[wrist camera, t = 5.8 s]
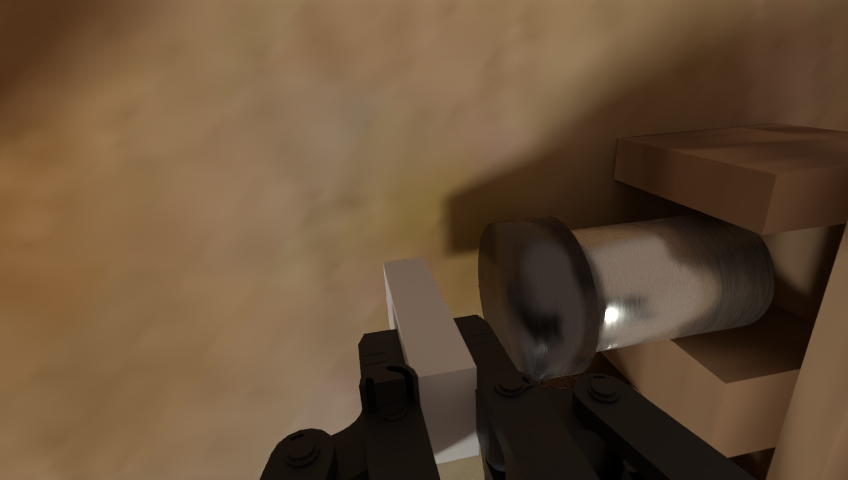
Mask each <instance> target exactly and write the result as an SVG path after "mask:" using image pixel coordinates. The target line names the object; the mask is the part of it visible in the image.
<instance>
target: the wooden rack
mask: <svg viewBox="0 0 848 480" xmlns="http://www.w3.org/2000/svg"><path fill="white" fill-rule="evenodd" d="M614 179H615V180H618V181H621V182H623V183H626V184H629V185H631V186H634V187H637V188H639V189H642V190H644V191H647V192H650V193H652V194H655V195H658V196H660V197H663V198H666V199H668V200H671V201H674V202H676V203H679V204H682V205H684V206H687V207H689V208H692V209H695V210H697V211H700V212H703V213H705V214H708V215H711V216H713V217H716V218H719V219H721V220H724V221H726V222H729V223H732V224H734V225H737V226H740V227H742V228H745V229H748V230H750V231H753V232H756V233H758V234H759V235H760V236H761V238H762V239H763V241H764V242H765V244H766V246H767V248H768V250H769V252H770V254H771V257H772V260H773V264H774V269H775V279H776V281H775V291H774V296H773V299H772V302H771V304H770V306H769V308H768V310H767V311H766V312H765V314H764V315H763V316H762V317H761V318H760V319H758V320H757V321H755V322H754V323H751V324H749V325H746V326H741V327H736V328H730V329H724V330H718V331H713V332H707V333H701V334H696V335H690V336H684V337H678V338H673V339H667V340H661V341H656V342H650V343H644V344H638V345H633V346H627V347H621V348H616V349H610V350H604V351H600V352H601V353H602V354H603V355H604V356H605V357H606V358H607V359H608V360H609V361H610V362H611V363H612V364H613V365H614V366H615V367H616V368H617V370H618V371H619V372H620V373H621V374H622V375H623V376H624V377H625V378H626V379H627V380H628V381H629V382H630V383H631V384H632V385H633V386H634V387H635V388H636V389H637V390H638V391H639V393H640V394H641V395H642V396H644V397H645V398H646V399H648V400H649V401H651V402H652V403H653V404H655V405H656V406H657V407H659V408H660V409H661V410H663V411H664V412H666V413H667V414H668V415H670V416H671V417H672V418H674V419H675V420H676V421H678V422H679V423H681V424H682V425H683V426H685V427H686V428H687V429H689V430H690V431H691V432H693V433H694V434H696V435H697V436H698V437H700V438H701V439H702V440H704V441H705V442H707V443H708V444H709V445H711V446H712V447H713V448H715V449H716V450H717V451H719V452H720V453H722V454H723V455H724V456H726V457H727V458H728V459H730V460H731V461H732V462H734V463H735V464H737V465H738V466H739V467H741V468H742V469H743V470H745V471H746V472H747V473H749V474H750V475H752V476H753V477H754V478H756V479H757V480H848V132H845V131H836V130H827V129H818V128H810V127H801V126H792V125H783V124H766V125H755V126H745V127H734V128H723V129H712V130H701V131H691V132H680V133H669V134H658V135H647V136H637V137H626V138H618V144H617V153H616V163H615V172H614Z"/></svg>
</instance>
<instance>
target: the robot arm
mask: <svg viewBox="0 0 848 480" xmlns="http://www.w3.org/2000/svg"><path fill="white" fill-rule="evenodd" d="M383 269H384V278H385V287H386V296H387V305H388V314H389V324H390V330H385V331H379V332H373V333H367V334H364V335H363V337H362V339H361V341H360V343H359V344H358V348H359V359H360V370H361V379H360V384H359V389H360V396H361V403H362V412H361V414H360V416H359V417H358V418H357V420H356V421H355V422H354V423H352V424H351V425H350V426H349V427H347V428H346V429H344V430H342V431H340V432H338V433H336V434H334V435H332V436H330V435H329V434H328V433H326V432H325V431H323V430H319V429H312V428H311V429H304V430H299V431H297V432H295V433H292V434H290V435H288V436H287V437H286V438H284V439H283V440H282V441H281V442H279V443H278V444H277V446H276V447H275V449H274V450H273V452H272V453H271V455H270V458H269V460H268V462H267V464H266V466H265V469H264V471H263V473H262V475H261V478H260V480H440V477H439V473H438V469H437V465H436V464H439V463H444V462H449V461H453V460H458V459H463V458H467V457H472V456H477V455H479V447H478V440H479V443H480V445H481V448H482V450H483V453H484V476H485V480H757V479H756V478H754V477H753V476H752V475H750V474H749V473H747V472H746V471H745V470H743V469H742V468H741V467H739V466H738V465H737V464H735V463H734V462H732V461H731V460H730V459H728V458H727V457H726V456H724V455H723V454H722V453H720V452H719V451H717V450H716V449H715V448H713V447H712V446H711V445H709V444H708V443H707V442H705V441H704V440H702V439H701V438H700V437H698V436H697V435H696V434H694V433H693V432H691V431H690V430H689V429H687V428H686V427H685V426H683V425H682V424H681V423H679V422H678V421H676V420H675V419H674V418H672V417H671V416H670V415H668V414H667V413H666V412H664V411H663V410H661V409H660V408H659V407H657V406H656V405H655V404H653V403H652V402H651V401H649V400H648V399H646V398H645V397H644V396H642V395H641V394H640V393H638V392H637V391H635V390H634V389H633V388H631V387H630V386H629V385H627V384H626V383H625V382H623V381H621V380H619V379H617V378H616V377H613V376H610V375H606V374H600V373H590V374H586V375H582V376H581V377H579V378H578V379H576V380H575V383H574V385H573V390H568V389H552V388H545V387H541V386H539V385H538V384H537V382H536V381H535V380H534V379H533V378H532V377H531V376H529V375H527V374H525V373H523V372H521V371H518V370H517V368H516V367H515V365H514V363H513V362H512V360H511V359H510V357H509V355H508V354H507V352H506V350H505V349H504V347H503V346H502V344H501V342H499V339H498V337H497V336H496V334H494V331H493V329H492V328H491V326H490V325H489V323H488V322H487V321H485V320H484V319H482V318H481V317H479V316H478V315H471V316H465V317H459V318H453V317H452V315H451V313H450V311H449V309H448V307H447V305H446V303H445V301H444V299H443V297H442V295H441V292H440V290H439V288H438V286H437V284H436V282H435V280H434V278H433V276H432V274H431V272H430V270H429V268H428V266H427V264H426V262H425V259H424V257H418V258H411V259H403V260H396V261H389V262H383Z"/></svg>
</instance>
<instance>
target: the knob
mask: <svg viewBox="0 0 848 480" xmlns="http://www.w3.org/2000/svg"><path fill="white" fill-rule="evenodd" d="M478 279H479V290H480V298H481V305H482V310H483V315H484V320H485V321H487V322H488V323H489V325H490V326H491V328H492V329H493V331H494V334H496V336H497V337H498V339H499V342H501V344H502V346H503V347H504V349H505V350H506V352H507V354H508V355H509V357H510V359H511V360H512V362H513V363H514V365H515V367H516V368H517V370H518V371H521V372H523V373H525V374H527V375H529V376H531V377H532V378H533V379H534V380H535V381H542V380H547V379H553V378H558V377H564V376H569V375H575V374H580V373H582V372H584V371H585V370H586V369H587V368H588V367H589V365H590V364H591V362H592V360H593V358H594V356H595V352H598V351H604V350H610V349H616V348H621V347H627V346H633V345H638V344H644V343H650V342H656V341H661V340H667V339H673V338H678V337H684V336H690V335H696V334H701V333H707V332H713V331H718V330H724V329H730V328H736V327H741V326H746V325H749V324H751V323H754V322H755V321H757V320H758V319H760V318H761V317H762V316H763V315H764V314H765V312H766V311H767V310H768V308H769V306H770V304H771V302H772V299H773V296H774V291H775V281H776V279H775V269H774V264H773V260H772V257H771V254H770V252H769V250H768V248H767V246H766V244H765V242H764V241H763V239H762V238H761V236H760V235H759V234H758V233H756V232H753V231H750V230H748V229H745V228H742V227H740V226H737V225H734V224H732V223H729V222H726V221H724V220H721V219H719V218H716V217H713V216H711V215H708V214H705V213H703V214H695V215H687V216H679V217H671V218H663V219H655V220H647V221H639V222H631V223H624V224H616V225H608V226H600V227H592V228H584V229H576V230H570V229H569V228H568V227H567V226H566V225H565V224H564V223H563V222H561V221H560V220H558V219H556V218H554V217H550V216H547V217H538V218H529V219H521V220H513V221H504V222H496V223H491V224H489V225H488V226H487V227H486V228H485V230H484V232H483V235H482V238H481V242H480V247H479V257H478Z"/></svg>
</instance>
